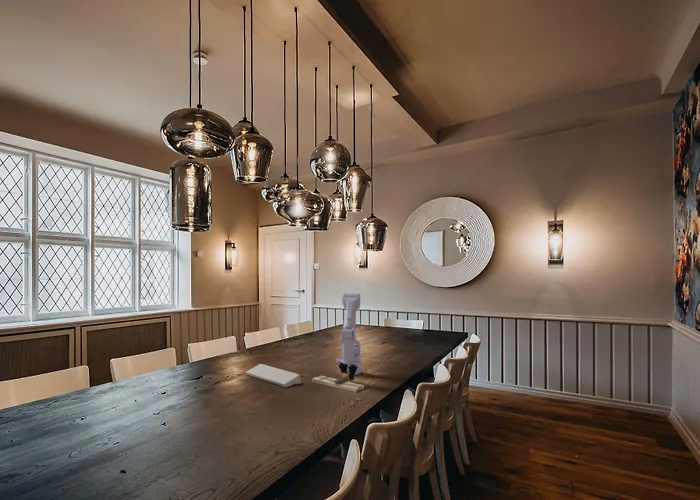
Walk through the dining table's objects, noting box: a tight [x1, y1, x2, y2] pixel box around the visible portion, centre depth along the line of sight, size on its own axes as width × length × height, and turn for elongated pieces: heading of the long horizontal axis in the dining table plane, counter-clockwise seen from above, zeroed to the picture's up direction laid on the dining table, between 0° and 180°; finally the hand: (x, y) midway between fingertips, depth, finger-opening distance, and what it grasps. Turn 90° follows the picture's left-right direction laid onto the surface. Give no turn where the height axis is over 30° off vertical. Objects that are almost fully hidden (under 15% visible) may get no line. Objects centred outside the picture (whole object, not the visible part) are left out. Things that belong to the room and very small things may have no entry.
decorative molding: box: [245, 363, 302, 388], centre depth 198 cm, size 34×5×10 cm
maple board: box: [311, 375, 365, 393], centre depth 187 cm, size 7×28×2 cm, turn 52°
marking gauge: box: [334, 371, 355, 383], centre depth 188 cm, size 12×4×5 cm, turn 142°
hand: (348, 379), depth 191 cm, fingers closed on marking gauge, 4 cm apart
